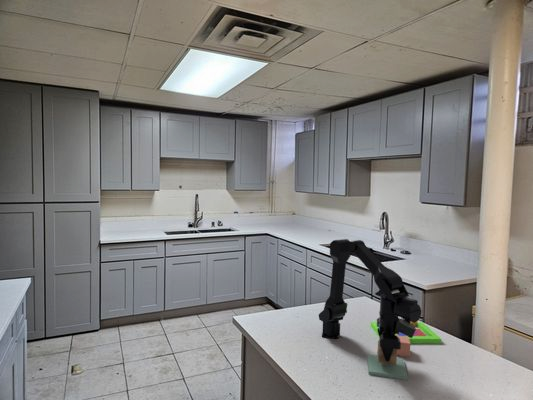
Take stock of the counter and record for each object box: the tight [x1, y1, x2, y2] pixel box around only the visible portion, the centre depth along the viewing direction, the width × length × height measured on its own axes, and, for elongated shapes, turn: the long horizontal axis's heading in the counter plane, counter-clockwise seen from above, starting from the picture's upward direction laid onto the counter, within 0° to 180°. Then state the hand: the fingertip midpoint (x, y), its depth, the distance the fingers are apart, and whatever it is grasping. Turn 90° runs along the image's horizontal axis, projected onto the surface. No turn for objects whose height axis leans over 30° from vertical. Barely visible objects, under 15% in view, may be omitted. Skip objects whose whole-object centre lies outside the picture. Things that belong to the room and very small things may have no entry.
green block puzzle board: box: [370, 321, 442, 344], centre depth 152 cm, size 23×2×25 cm
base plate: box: [366, 353, 409, 381], centre depth 121 cm, size 12×12×1 cm
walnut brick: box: [376, 340, 398, 365], centre depth 121 cm, size 6×6×5 cm
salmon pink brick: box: [397, 336, 411, 357], centre depth 132 cm, size 6×6×5 cm
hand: (386, 356), depth 121 cm, fingers closed on walnut brick, 6 cm apart
